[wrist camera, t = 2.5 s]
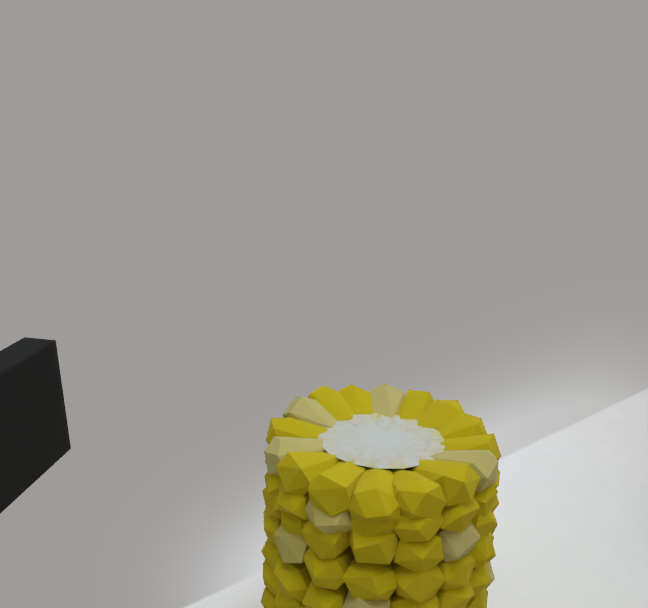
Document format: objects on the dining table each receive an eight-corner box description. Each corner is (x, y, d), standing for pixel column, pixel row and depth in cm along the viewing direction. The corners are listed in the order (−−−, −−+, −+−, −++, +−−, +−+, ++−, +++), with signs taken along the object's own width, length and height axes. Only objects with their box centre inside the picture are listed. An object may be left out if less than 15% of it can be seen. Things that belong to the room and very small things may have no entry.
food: (254, 833, 24) (302, 631, 33) (565, 841, 21) (521, 621, 31) (150, 498, 20) (238, 380, 30) (510, 462, 18) (479, 346, 27)
